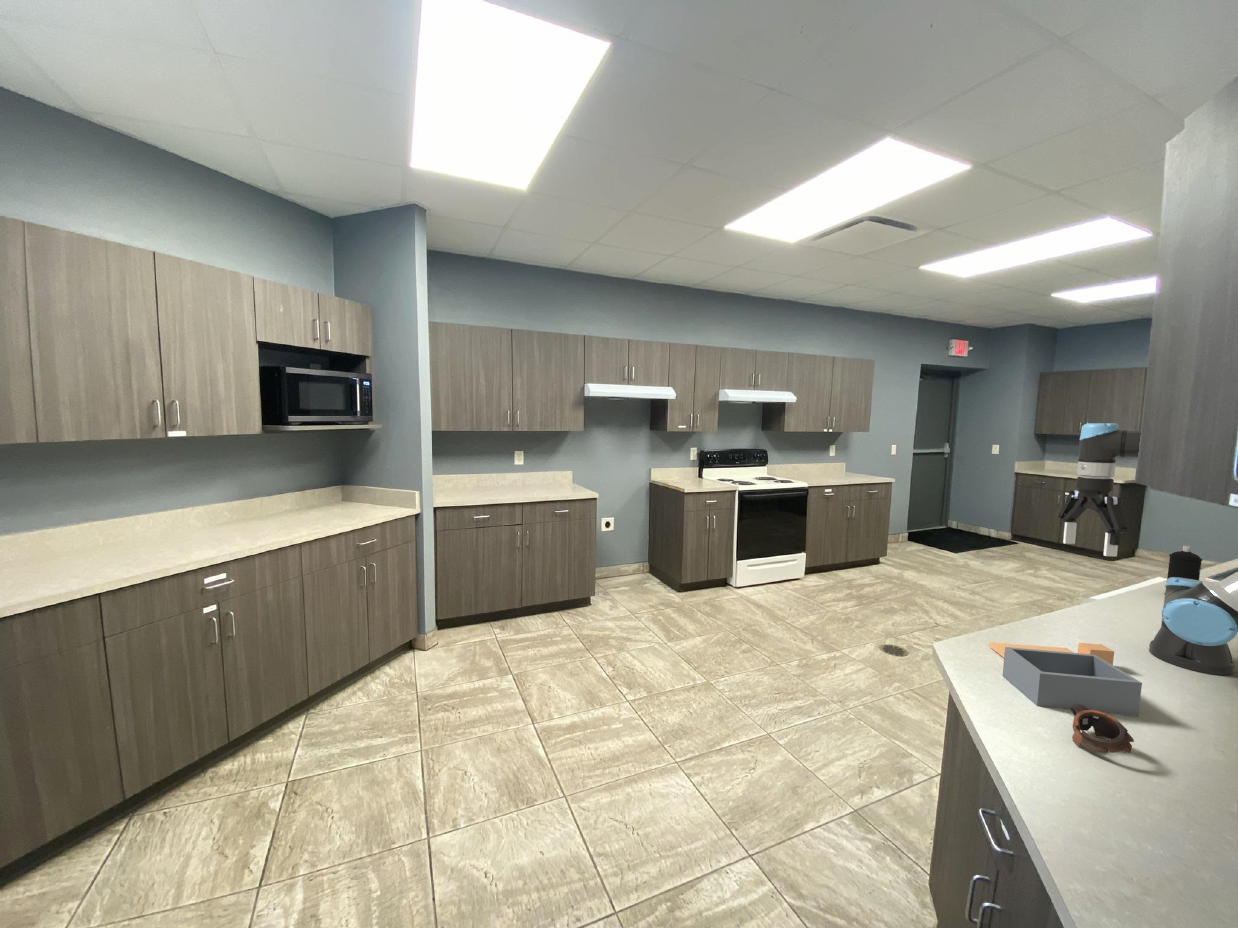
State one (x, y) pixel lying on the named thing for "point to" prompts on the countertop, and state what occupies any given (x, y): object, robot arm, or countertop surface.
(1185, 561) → the aerosol can
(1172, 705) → the countertop surface
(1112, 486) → the robot arm
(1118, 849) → the countertop surface
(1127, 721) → the countertop surface
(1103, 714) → the brown jagged ring
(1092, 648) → the lid
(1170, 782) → the countertop surface
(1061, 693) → the tub
